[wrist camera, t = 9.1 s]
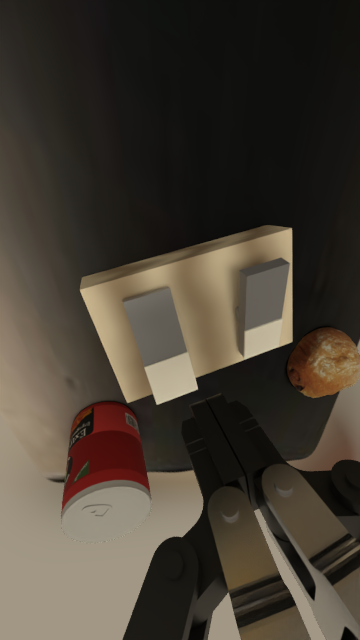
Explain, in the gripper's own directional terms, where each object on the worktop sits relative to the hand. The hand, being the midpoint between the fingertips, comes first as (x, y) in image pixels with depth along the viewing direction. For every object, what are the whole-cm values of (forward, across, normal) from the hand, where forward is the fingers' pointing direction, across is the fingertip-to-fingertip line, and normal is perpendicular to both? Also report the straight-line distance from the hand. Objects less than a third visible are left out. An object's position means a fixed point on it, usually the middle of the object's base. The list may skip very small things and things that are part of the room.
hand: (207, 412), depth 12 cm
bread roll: (+18, -21, +18) cm, 33 cm away
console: (+18, -4, +3) cm, 19 cm away
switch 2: (+13, -10, +3) cm, 17 cm away
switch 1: (+13, 0, +4) cm, 13 cm away
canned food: (+18, +10, +15) cm, 25 cm away
